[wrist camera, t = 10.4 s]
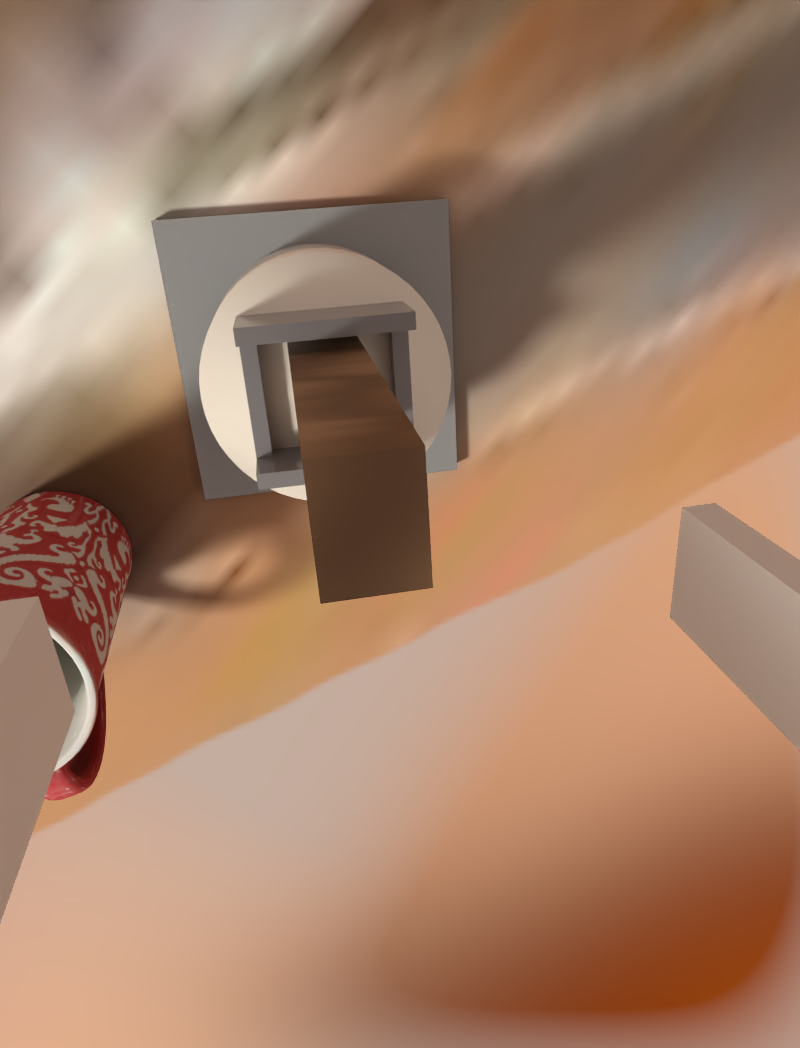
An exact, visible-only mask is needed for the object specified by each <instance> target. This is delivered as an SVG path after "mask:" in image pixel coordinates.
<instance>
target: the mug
mask: <svg viewBox="0 0 800 1048" xmlns="http://www.w3.org/2000/svg"><path fill="white" fill-rule="evenodd" d="M131 566H132V547H131V543H130V539H129V536H128V534H127V532H126V530H125V528H124V527H123V526H122V524H121V523H120V521H119V520H118V519H117V518H116V517H115V515H113V514H112V513H111V512H110V511H109V510H108V509H107V508H105V507H104V506H102V505H101V504H99V503H98V502H96V501H94V500H92V499H90V498H87V497H84V496H82V495H78V494H74V493H69V492H61V491H49V492H41V493H36V494H32V495H29V496H27V497H24V498H22V499H20V500H18V501H16V502H15V503H13V504H12V505H11V506H9V507H8V508H7V509H6V510H5V511H4V512H2V513H1V514H0V601H7V600H14V599H21V598H29V597H36V596H39V600H40V603H41V606H42V609H43V612H44V615H45V618H46V621H47V625H48V628H49V631H50V634H51V637H52V640H53V643H54V647H55V650H56V653H57V656H58V659H59V662H60V665H61V668H62V672H63V675H64V678H65V681H66V684H67V687H68V690H69V693H70V697H71V700H72V703H73V706H74V709H75V713H74V716H73V719H72V722H71V725H70V728H69V730H68V733H67V736H66V739H65V742H64V744H63V747H62V750H61V753H60V756H59V759H58V761H57V764H56V767H55V770H54V773H53V776H52V778H51V781H50V784H49V787H48V790H47V792H46V795H45V798H44V799H47V800H61V799H65V798H68V797H70V796H73V795H76V794H78V793H81V792H83V791H85V790H86V789H87V788H89V787H90V786H91V785H92V783H93V782H94V780H95V778H96V776H97V774H98V771H99V769H100V766H101V762H102V757H103V752H104V746H105V735H106V700H105V683H104V668H105V665H106V661H107V657H108V654H109V649H110V645H111V641H112V638H113V634H114V630H115V626H116V622H117V619H118V615H119V612H120V608H121V604H122V600H123V596H124V592H125V589H126V586H127V582H128V579H129V575H130V571H131Z"/></svg>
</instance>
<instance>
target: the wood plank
mask: <svg viewBox="0 0 800 1048" xmlns="http://www.w3.org/2000/svg"><path fill="white" fill-rule="evenodd" d="M287 347H288V355H289V363H290V371H291V379H292V387H293V395H294V403H295V411H296V419H297V426H298V434H299V442H300V450H301V458H302V466H303V473H304V481H305V489H306V496H307V504H308V511H309V519H310V527H311V534H312V542H313V550H314V557H315V565H316V573H317V580H318V588H319V595H320V603H321V604H322V603H329V602H336V601H343V600H350V599H357V598H364V597H371V596H378V595H385V594H393V593H400V592H407V591H414V590H421V589H428V588H433V583H432V564H431V545H430V527H429V508H428V489H427V470H426V452H425V444H424V443H423V441H422V440H421V438H420V436H419V435H418V433H417V432H416V430H415V428H414V427H413V425H412V424H411V422H410V420H409V419H408V417H407V415H406V414H405V412H404V411H403V409H402V407H401V406H400V404H399V403H398V401H397V399H396V398H395V396H394V394H393V393H392V391H391V390H390V388H389V386H388V385H387V383H386V382H385V380H384V378H383V377H382V375H381V374H380V372H379V370H378V369H377V367H376V365H375V364H374V362H373V361H372V359H371V357H370V356H369V354H368V353H367V351H366V349H365V348H364V346H363V345H362V343H361V341H360V340H359V338H358V336H350V337H339V338H329V339H319V340H309V341H299V342H288V343H287Z"/></svg>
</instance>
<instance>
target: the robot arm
mask: <svg viewBox="0 0 800 1048" xmlns="http://www.w3.org/2000/svg"><path fill="white" fill-rule="evenodd" d="M670 618H671V619H672V620H673V621H674V622H675V623H676V624H677V625H678V626H679V627H680V628H681V629H682V630H683V631H684V632H685V633H686V634H687V635H688V636H689V637H690V638H691V639H692V640H693V641H694V642H695V643H696V644H697V645H698V646H699V648H700V649H701V650H702V651H703V652H704V653H705V654H706V655H707V656H709V658H710V659H711V660H712V661H713V662H714V663H715V664H716V665H717V666H718V667H719V668H720V669H721V670H722V671H723V672H724V673H725V674H726V675H727V676H728V677H729V678H730V679H731V680H732V682H733V683H734V684H736V686H737V687H738V688H739V689H740V690H741V691H742V692H743V693H744V694H745V695H746V696H747V697H748V698H749V699H750V700H751V701H752V702H753V703H754V704H755V705H756V706H757V707H758V708H759V709H760V710H761V711H762V712H763V713H764V714H765V716H766V717H767V718H768V719H769V720H770V721H771V722H772V723H773V724H774V725H775V726H776V727H777V728H778V729H779V730H780V731H781V732H782V733H783V734H784V735H785V736H786V737H787V738H788V739H789V740H790V741H791V742H792V743H793V744H794V745H795V746H796V747H797V748H798V750H800V560H799V559H797V558H796V557H794V556H793V555H791V554H790V553H788V552H787V551H785V550H784V549H782V548H781V547H779V546H778V545H776V544H775V543H773V542H772V541H770V540H769V539H767V538H766V537H765V536H763V535H761V534H760V533H759V532H757V531H756V530H754V529H753V528H751V527H750V526H748V525H747V524H745V523H744V522H742V521H741V520H739V519H738V518H737V517H735V516H734V515H732V514H730V513H729V512H728V511H726V510H725V509H723V508H722V507H720V506H719V505H717V504H716V503H712V504H705V505H698V506H690V507H683V508H682V513H681V522H680V531H679V540H678V549H677V558H676V567H675V576H674V585H673V595H672V603H671V612H670ZM74 713H75V709H74V706H73V703H72V700H71V697H70V693H69V690H68V687H67V684H66V681H65V678H64V675H63V672H62V668H61V665H60V662H59V659H58V656H57V653H56V650H55V647H54V643H53V640H52V637H51V634H50V631H49V628H48V625H47V621H46V618H45V615H44V612H43V609H42V606H41V603H40V600H39V596H36V597H29V598H21V599H14V600H7V601H0V922H1V919H2V916H3V914H4V911H5V908H6V905H7V902H8V900H9V897H10V894H11V891H12V888H13V885H14V883H15V880H16V877H17V874H18V871H19V869H20V866H21V863H22V860H23V857H24V854H25V852H26V849H27V846H28V843H29V840H30V838H31V835H32V832H33V829H34V826H35V823H36V821H37V818H38V815H39V812H40V809H41V807H42V804H43V801H44V798H45V795H46V792H47V790H48V787H49V784H50V781H51V778H52V776H53V773H54V770H55V767H56V764H57V761H58V759H59V756H60V753H61V750H62V747H63V744H64V742H65V739H66V736H67V733H68V730H69V728H70V725H71V722H72V719H73V716H74Z"/></svg>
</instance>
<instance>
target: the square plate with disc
mask: <svg viewBox="0 0 800 1048" xmlns="http://www.w3.org/2000/svg"><path fill="white" fill-rule="evenodd" d="M151 222H152V227H153V233H154V238H155V243H156V248H157V253H158V258H159V264H160V269H161V274H162V279H163V284H164V289H165V294H166V300H167V305H168V310H169V315H170V320H171V325H172V331H173V336H174V341H175V346H176V351H177V356H178V362H179V367H180V372H181V377H182V382H183V387H184V393H185V398H186V403H187V408H188V413H189V418H190V424H191V429H192V434H193V439H194V444H195V449H196V455H197V460H198V465H199V470H200V475H201V480H202V486H203V491H204V496H205V500H208V499H216V498H225V497H233V496H241V495H250V494H258V493H266V492H275V491H276V492H278V493H280V494H283V495H286V496H290V497H293V498H297V499H302V500H307V496H306V489H305V481H304V473H303V466H302V458H301V450H300V442H299V434H298V426H297V419H296V411H295V403H294V395H293V387H292V379H291V371H290V363H289V355H288V347H287V343H288V342H299V341H309V340H319V339H329V338H339V337H350V336H358V338H359V340H360V341H361V343H362V345H363V346H364V348H365V349H366V351H367V353H368V354H369V356H370V357H371V359H372V361H373V362H374V364H375V365H376V367H377V369H378V370H379V372H380V374H381V375H382V377H383V378H384V380H385V382H386V383H387V385H388V386H389V388H390V390H391V391H392V393H393V394H394V396H395V398H396V399H397V401H398V403H399V404H400V406H401V407H402V409H403V411H404V412H405V414H406V415H407V417H408V419H409V420H410V422H411V424H412V425H413V427H414V428H415V430H416V432H417V433H418V435H419V436H420V438H421V440H422V441H423V443H424V444H425V452H426V470H427V473H433V472H441V471H449V470H457V450H456V419H455V388H454V357H453V325H452V294H451V263H450V232H449V201H448V199H433V200H419V201H405V202H392V203H378V204H365V205H351V206H337V207H324V208H310V209H297V210H283V211H269V212H256V213H242V214H229V215H215V216H201V217H188V218H174V219H161V220H152V221H151Z"/></svg>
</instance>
